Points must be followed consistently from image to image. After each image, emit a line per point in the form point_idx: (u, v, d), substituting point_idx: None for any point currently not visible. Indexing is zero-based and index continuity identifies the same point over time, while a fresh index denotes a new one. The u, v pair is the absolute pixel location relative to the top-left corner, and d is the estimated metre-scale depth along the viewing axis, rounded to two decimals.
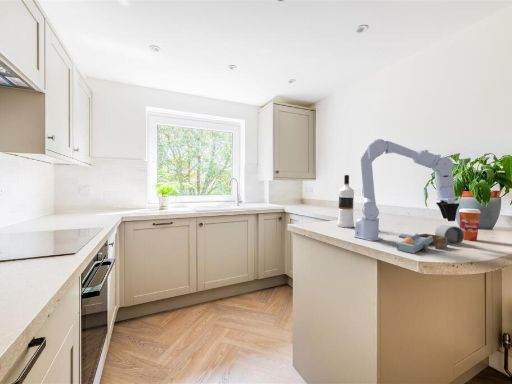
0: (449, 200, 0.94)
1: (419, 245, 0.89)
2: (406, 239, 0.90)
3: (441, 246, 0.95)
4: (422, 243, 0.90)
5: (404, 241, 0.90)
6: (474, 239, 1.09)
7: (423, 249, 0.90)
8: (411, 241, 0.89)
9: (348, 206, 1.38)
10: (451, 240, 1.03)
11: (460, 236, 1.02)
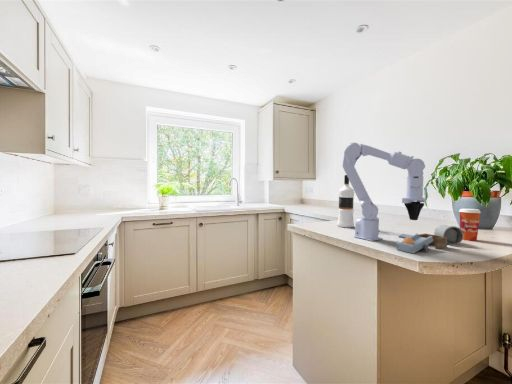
0: (403, 200, 1.00)
1: (419, 245, 0.89)
2: (406, 239, 0.90)
3: (441, 246, 0.95)
4: (422, 243, 0.90)
5: (404, 241, 0.90)
6: (474, 239, 1.09)
7: (423, 249, 0.90)
8: (411, 241, 0.89)
9: (348, 206, 1.38)
10: (450, 240, 1.03)
11: (459, 236, 1.03)
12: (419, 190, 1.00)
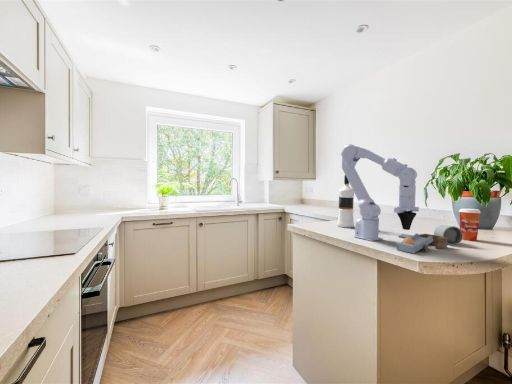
0: (395, 209, 0.98)
1: (419, 245, 0.89)
2: (406, 239, 0.90)
3: (441, 246, 0.95)
4: (422, 243, 0.90)
5: (404, 241, 0.90)
6: (474, 239, 1.09)
7: (423, 249, 0.90)
8: (411, 241, 0.89)
9: (348, 206, 1.38)
10: (450, 240, 1.03)
11: (459, 236, 1.03)
12: (411, 199, 0.98)
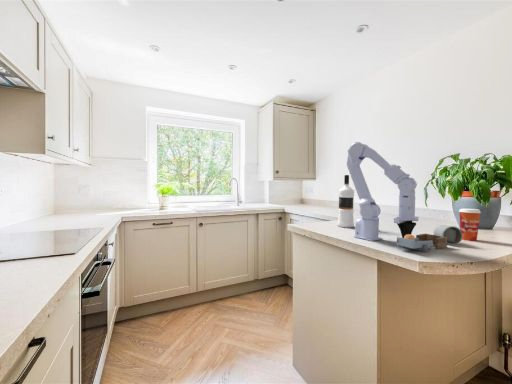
0: (394, 220, 0.98)
1: (419, 243, 0.89)
2: (408, 235, 0.91)
3: (441, 246, 0.95)
4: (422, 243, 0.90)
5: (405, 236, 0.91)
6: (474, 239, 1.09)
7: (423, 249, 0.90)
8: (412, 237, 0.89)
9: (348, 206, 1.38)
10: (449, 240, 1.03)
11: (458, 236, 1.03)
12: (411, 210, 0.98)
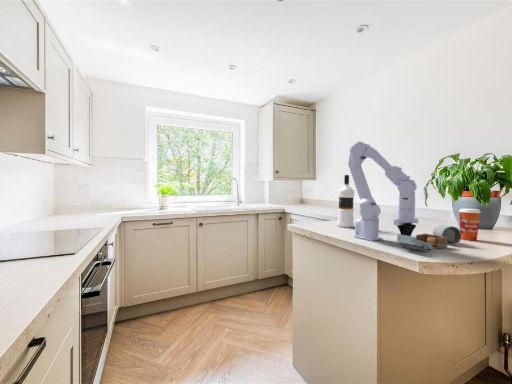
0: (394, 222, 0.98)
1: (420, 242, 0.90)
2: None
3: (441, 246, 0.95)
4: (423, 243, 0.91)
5: None
6: (474, 239, 1.09)
7: (423, 249, 0.90)
8: None
9: (348, 206, 1.38)
10: (448, 240, 1.03)
11: (458, 236, 1.03)
12: (411, 212, 0.98)
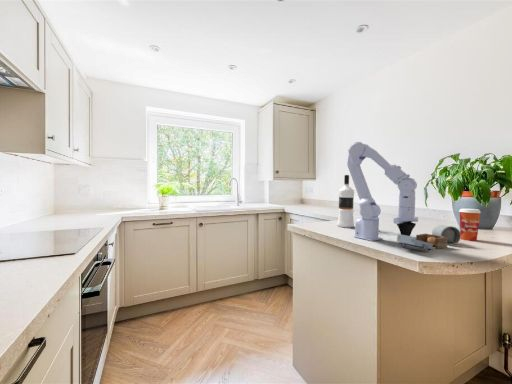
0: (394, 220, 0.98)
1: (420, 242, 0.90)
2: None
3: (441, 246, 0.95)
4: (423, 243, 0.91)
5: None
6: (474, 239, 1.09)
7: (423, 249, 0.90)
8: None
9: (348, 206, 1.38)
10: (448, 240, 1.03)
11: (457, 236, 1.03)
12: (411, 210, 0.98)
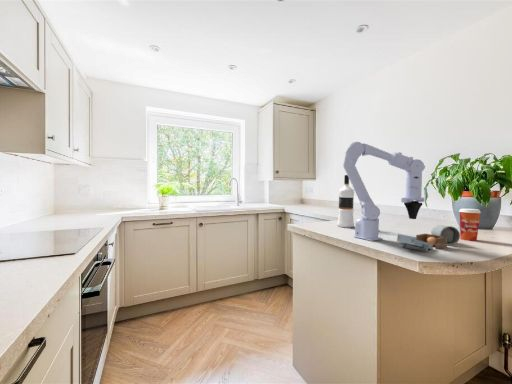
0: (402, 199, 1.03)
1: (420, 242, 0.90)
2: None
3: (441, 246, 0.95)
4: (423, 243, 0.91)
5: None
6: (474, 239, 1.09)
7: (423, 249, 0.90)
8: None
9: (348, 206, 1.38)
10: (447, 240, 1.03)
11: (456, 236, 1.03)
12: (418, 190, 1.03)
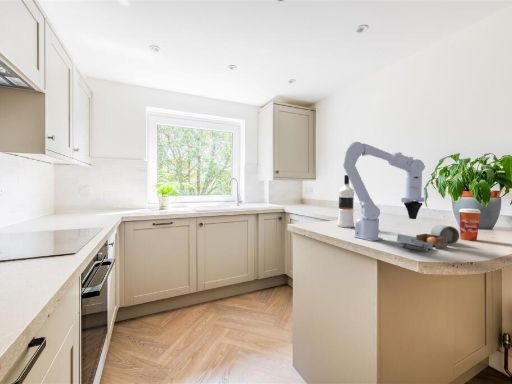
0: (402, 199, 1.03)
1: (420, 242, 0.90)
2: None
3: (441, 246, 0.95)
4: (423, 243, 0.91)
5: None
6: (474, 239, 1.09)
7: (423, 249, 0.90)
8: None
9: (348, 206, 1.38)
10: None
11: (455, 236, 1.03)
12: (418, 190, 1.03)
